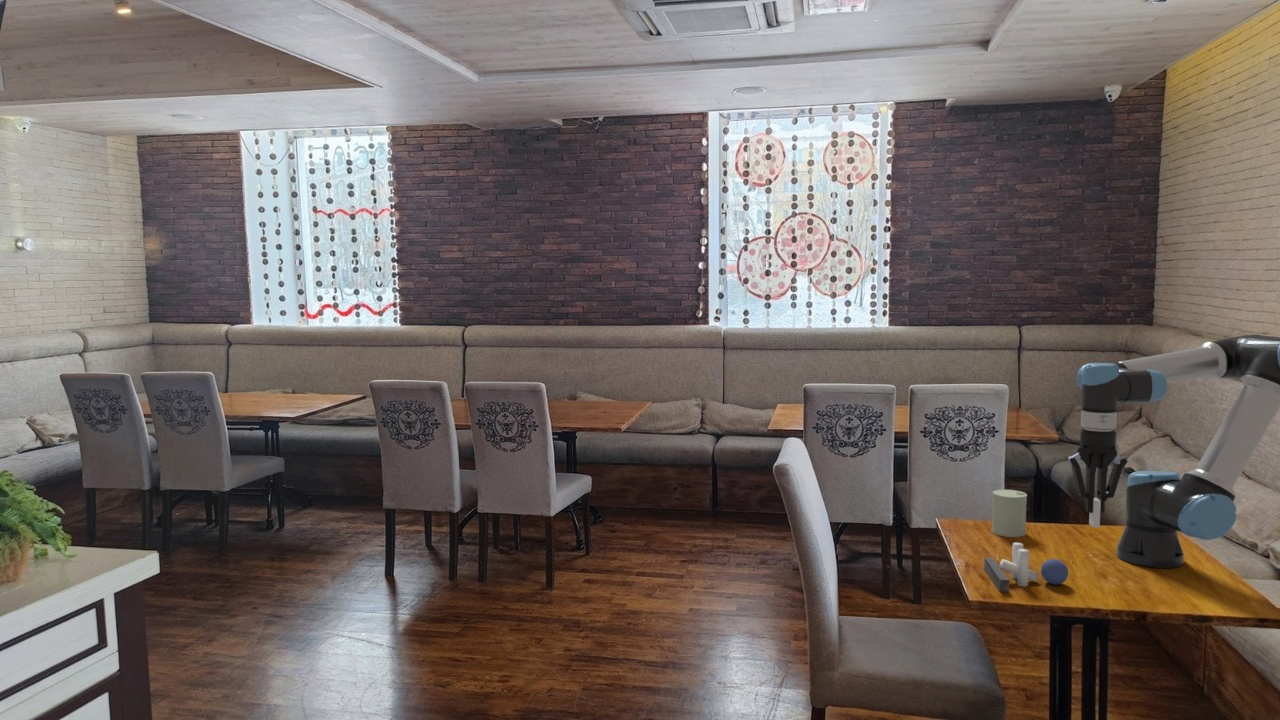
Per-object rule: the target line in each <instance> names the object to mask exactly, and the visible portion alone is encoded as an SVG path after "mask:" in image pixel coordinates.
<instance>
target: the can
mask: <svg viewBox="0 0 1280 720" xmlns="http://www.w3.org/2000/svg"><path fill="white" fill-rule="evenodd" d="M1027 498H1028V494H1027V493H1026V492H1024V491H1020V490H1015V489H996V490H994V491H992V518H991V519H992V520H991V521H992V524H991V532H992V534H995V535H997V536H1000V537H1007V538H1022V537H1025V536H1026V535H1027V530H1026V529H1027V528H1026V526H1027V525H1026V523H1027ZM1024 535H1025V536H1024ZM1021 536H1022V537H1021Z"/></svg>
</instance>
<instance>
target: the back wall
mask: <svg viewBox="0 0 1280 720" xmlns="http://www.w3.org/2000/svg"><path fill="white" fill-rule="evenodd" d="M983 559H984V560H983V561H984V565H983V570H984V571H985V573H986V575H988V577H989V578H990V580H991V581H992V583H993V584H994V586H995V587H996V588H997V589H998V591H999V593H1010V579H1009V578H1008V576H1007V575H1006V573H1005V572H1004V570H1003V569H1000V565H999V564H998V563H997V562H996V559H994V557H984V558H983Z"/></svg>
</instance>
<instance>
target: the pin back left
mask: <svg viewBox="0 0 1280 720" xmlns="http://www.w3.org/2000/svg"><path fill="white" fill-rule="evenodd" d="M1029 562H1030V551H1029V549H1025V548H1023V549H1019V550H1018V572H1017V579H1016V585H1017V586H1019V587H1022V586H1023V587H1022V588H1026V586H1027V587H1028V586H1029V580H1028V569H1029V568H1030V567H1029V565H1030V563H1029ZM1029 570H1030V569H1029Z"/></svg>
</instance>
